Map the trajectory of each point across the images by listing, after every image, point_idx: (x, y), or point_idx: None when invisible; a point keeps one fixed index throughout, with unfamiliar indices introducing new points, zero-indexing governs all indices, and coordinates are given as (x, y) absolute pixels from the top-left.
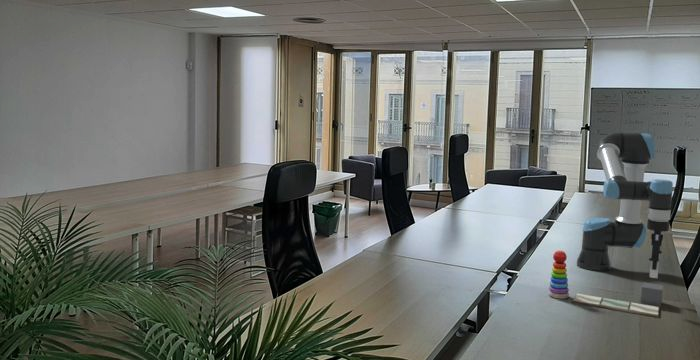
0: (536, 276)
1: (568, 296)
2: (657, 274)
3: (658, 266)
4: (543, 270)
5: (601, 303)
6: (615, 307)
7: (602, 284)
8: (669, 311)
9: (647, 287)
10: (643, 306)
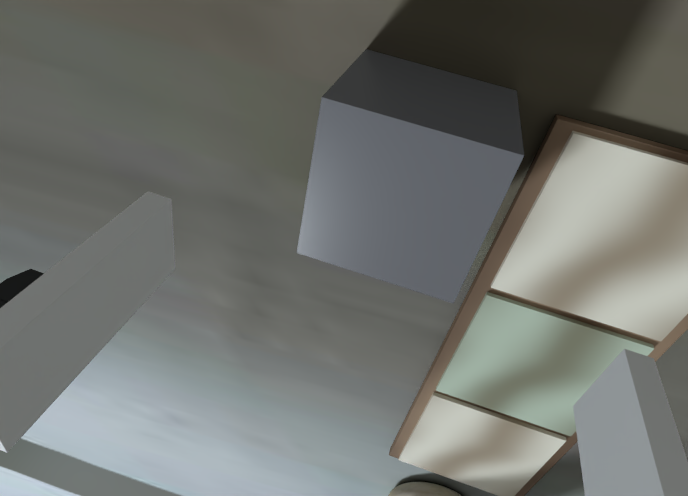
0: (198, 478)
1: (450, 492)
2: (669, 410)
3: (140, 229)
4: (104, 440)
5: (545, 427)
6: None
7: (153, 305)
8: (626, 40)
9: (455, 267)
10: (574, 241)
